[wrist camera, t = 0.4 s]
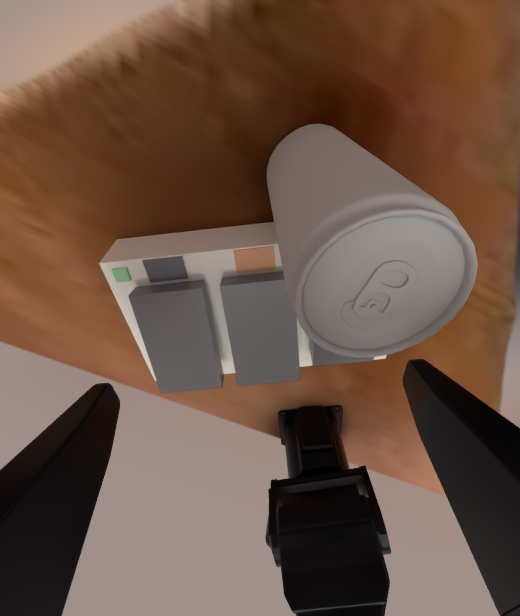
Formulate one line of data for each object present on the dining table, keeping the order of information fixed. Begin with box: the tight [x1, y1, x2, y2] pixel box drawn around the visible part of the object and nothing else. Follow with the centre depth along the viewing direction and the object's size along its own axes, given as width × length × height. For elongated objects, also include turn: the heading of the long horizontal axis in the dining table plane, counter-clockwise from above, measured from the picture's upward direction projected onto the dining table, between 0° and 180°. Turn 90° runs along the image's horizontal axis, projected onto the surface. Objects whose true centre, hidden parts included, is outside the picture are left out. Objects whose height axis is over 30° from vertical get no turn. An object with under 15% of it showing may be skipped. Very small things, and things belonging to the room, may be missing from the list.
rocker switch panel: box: [99, 222, 386, 381], centre depth 21 cm, size 10×17×3 cm, turn 96°
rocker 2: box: [220, 271, 300, 386], centre depth 19 cm, size 7×4×1 cm, turn 6°
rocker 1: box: [128, 280, 224, 393], centre depth 19 cm, size 7×4×1 cm, turn 6°
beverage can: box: [267, 124, 478, 358], centre depth 13 cm, size 5×5×12 cm
